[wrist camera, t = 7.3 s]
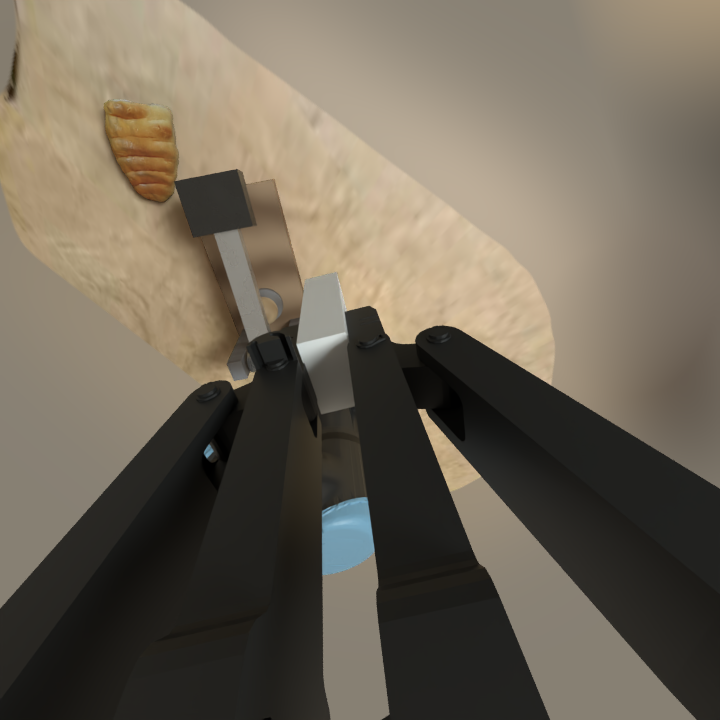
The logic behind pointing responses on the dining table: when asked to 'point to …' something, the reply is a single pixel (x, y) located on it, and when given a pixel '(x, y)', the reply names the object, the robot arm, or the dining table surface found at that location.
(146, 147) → the pastry
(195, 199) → the lever
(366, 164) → the dining table surface
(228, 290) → the nutcracker base
